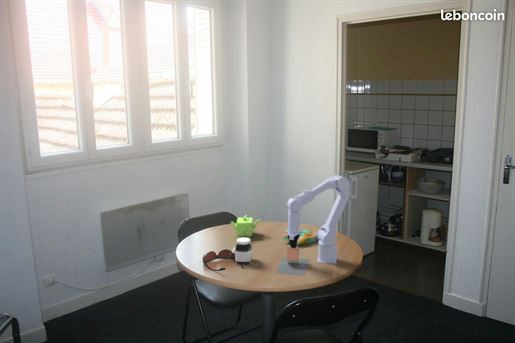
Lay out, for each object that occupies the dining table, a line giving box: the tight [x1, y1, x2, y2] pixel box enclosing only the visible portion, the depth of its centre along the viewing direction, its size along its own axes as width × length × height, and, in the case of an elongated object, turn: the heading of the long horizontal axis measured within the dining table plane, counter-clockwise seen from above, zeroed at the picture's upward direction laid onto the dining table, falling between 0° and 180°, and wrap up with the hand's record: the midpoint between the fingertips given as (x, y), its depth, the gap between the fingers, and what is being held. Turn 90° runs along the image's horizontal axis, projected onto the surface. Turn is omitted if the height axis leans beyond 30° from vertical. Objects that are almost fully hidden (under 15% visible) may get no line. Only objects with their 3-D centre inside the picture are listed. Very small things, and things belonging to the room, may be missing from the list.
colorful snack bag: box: [281, 228, 319, 247], centre depth 251 cm, size 12×5×20 cm
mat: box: [274, 256, 310, 276], centre depth 216 cm, size 14×20×1 cm
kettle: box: [230, 214, 261, 239], centre depth 261 cm, size 15×14×11 cm
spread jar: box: [230, 236, 253, 265], centre depth 223 cm, size 12×11×12 cm
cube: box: [285, 247, 302, 264], centre depth 217 cm, size 6×6×6 cm
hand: (293, 249), depth 217 cm, fingers closed, pressing on cube
